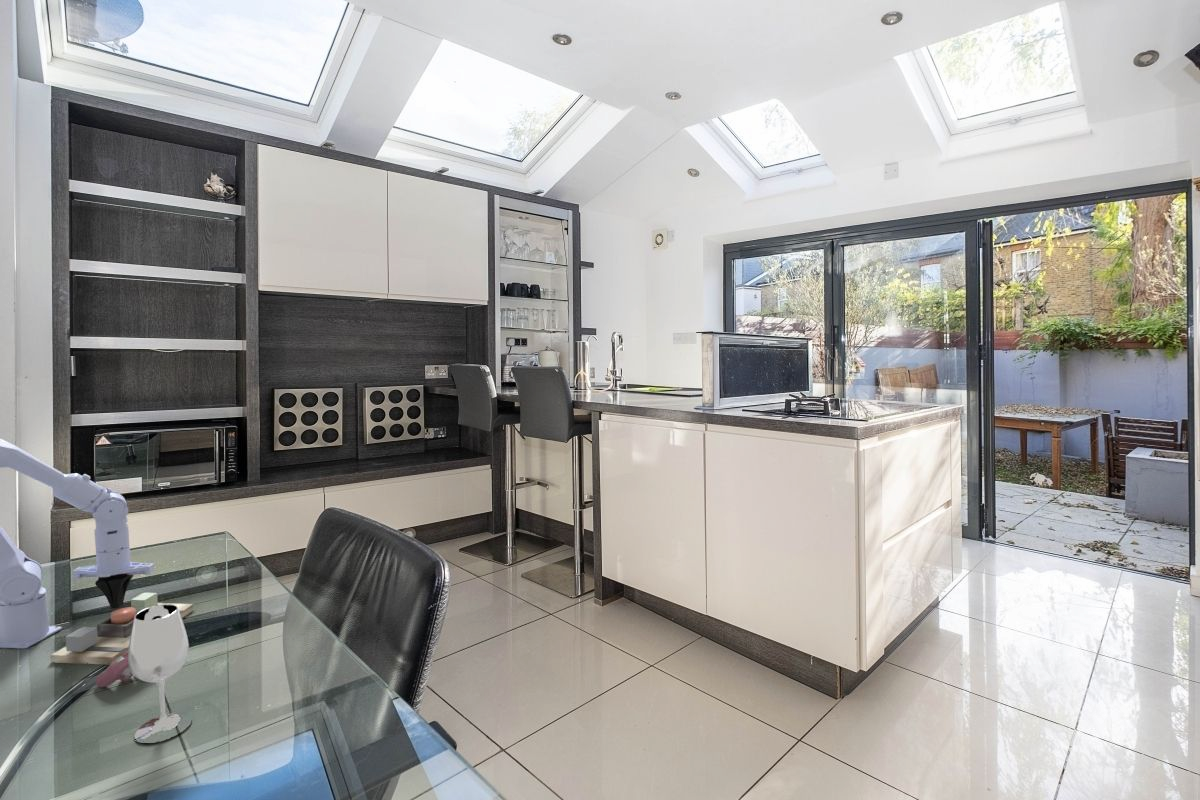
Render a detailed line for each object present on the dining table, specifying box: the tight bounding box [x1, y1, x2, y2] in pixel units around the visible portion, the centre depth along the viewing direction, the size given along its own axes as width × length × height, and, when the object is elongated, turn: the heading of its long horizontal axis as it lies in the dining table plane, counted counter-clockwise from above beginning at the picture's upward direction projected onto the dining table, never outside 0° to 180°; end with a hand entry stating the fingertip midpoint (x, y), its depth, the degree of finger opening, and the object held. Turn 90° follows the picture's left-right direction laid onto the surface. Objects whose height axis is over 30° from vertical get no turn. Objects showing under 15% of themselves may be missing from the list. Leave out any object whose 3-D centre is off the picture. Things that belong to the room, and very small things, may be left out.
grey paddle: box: [64, 626, 98, 652], centre depth 114 cm, size 3×4×3 cm
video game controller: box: [95, 651, 134, 688], centre depth 109 cm, size 10×5×7 cm, turn 169°
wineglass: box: [128, 604, 190, 740], centre depth 94 cm, size 8×8×20 cm
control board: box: [50, 602, 195, 665], centre depth 123 cm, size 12×22×4 cm, turn 179°
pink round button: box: [110, 606, 136, 625], centre depth 122 cm, size 4×4×2 cm
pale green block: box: [130, 592, 159, 612], centre depth 130 cm, size 3×4×3 cm
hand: (117, 606), depth 130 cm, fingers closed
